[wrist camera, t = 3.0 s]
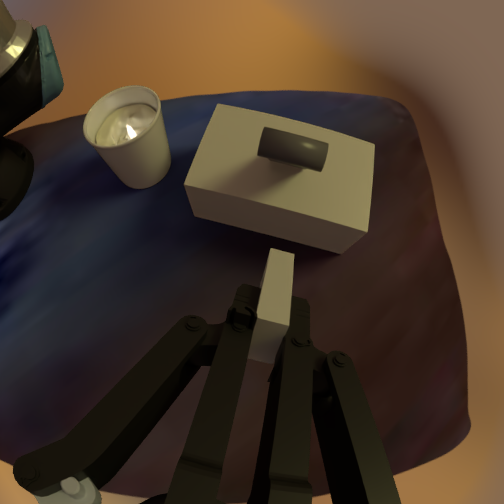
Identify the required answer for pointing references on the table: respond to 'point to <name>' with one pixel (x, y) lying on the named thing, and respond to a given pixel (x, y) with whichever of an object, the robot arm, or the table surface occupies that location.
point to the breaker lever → (292, 149)
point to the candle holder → (130, 135)
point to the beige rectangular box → (281, 182)
